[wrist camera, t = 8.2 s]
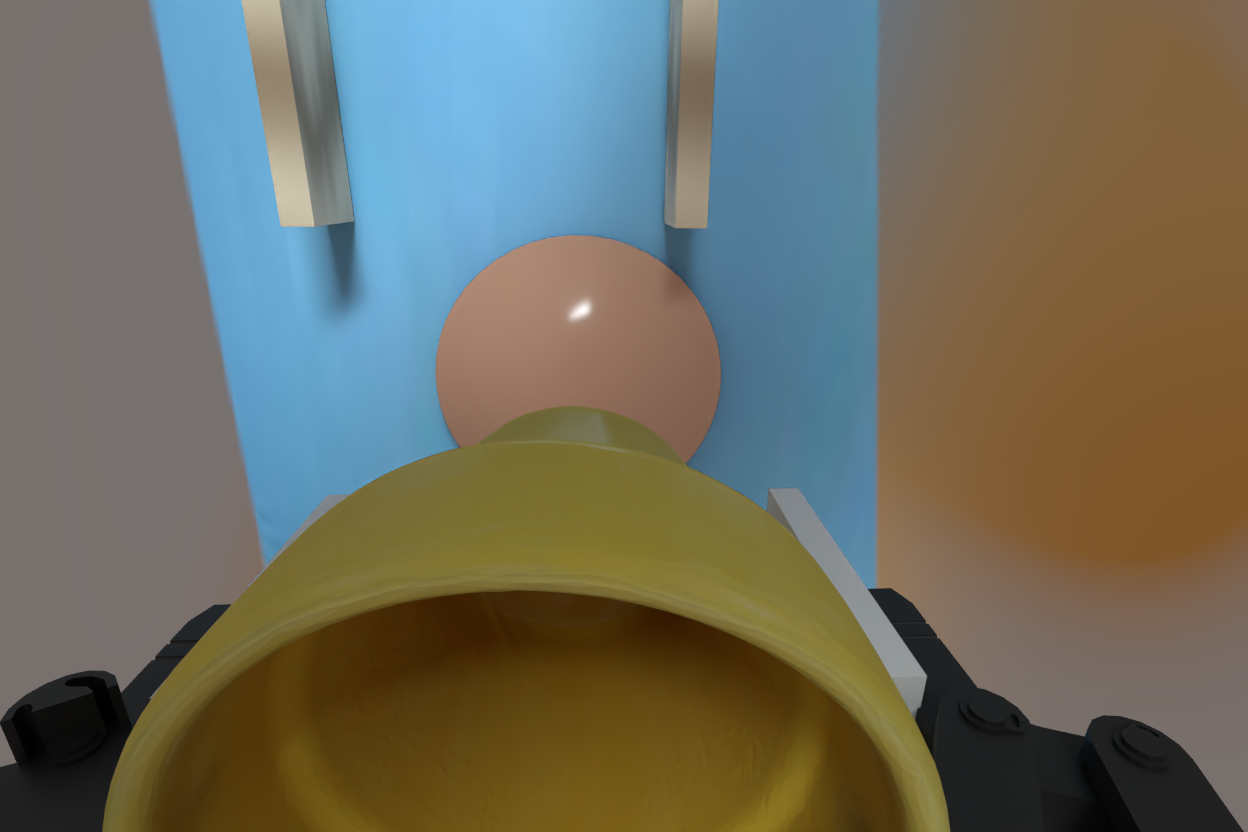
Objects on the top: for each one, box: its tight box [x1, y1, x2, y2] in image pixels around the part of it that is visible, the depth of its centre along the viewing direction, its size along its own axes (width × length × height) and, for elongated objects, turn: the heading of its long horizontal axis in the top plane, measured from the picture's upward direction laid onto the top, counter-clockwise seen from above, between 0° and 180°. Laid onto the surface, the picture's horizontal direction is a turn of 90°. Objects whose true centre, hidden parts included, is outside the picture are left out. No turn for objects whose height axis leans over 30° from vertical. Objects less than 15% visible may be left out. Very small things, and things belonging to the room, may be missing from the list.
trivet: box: [436, 235, 721, 463], centre depth 29 cm, size 13×13×1 cm
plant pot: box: [102, 406, 950, 832], centre depth 12 cm, size 10×10×10 cm
